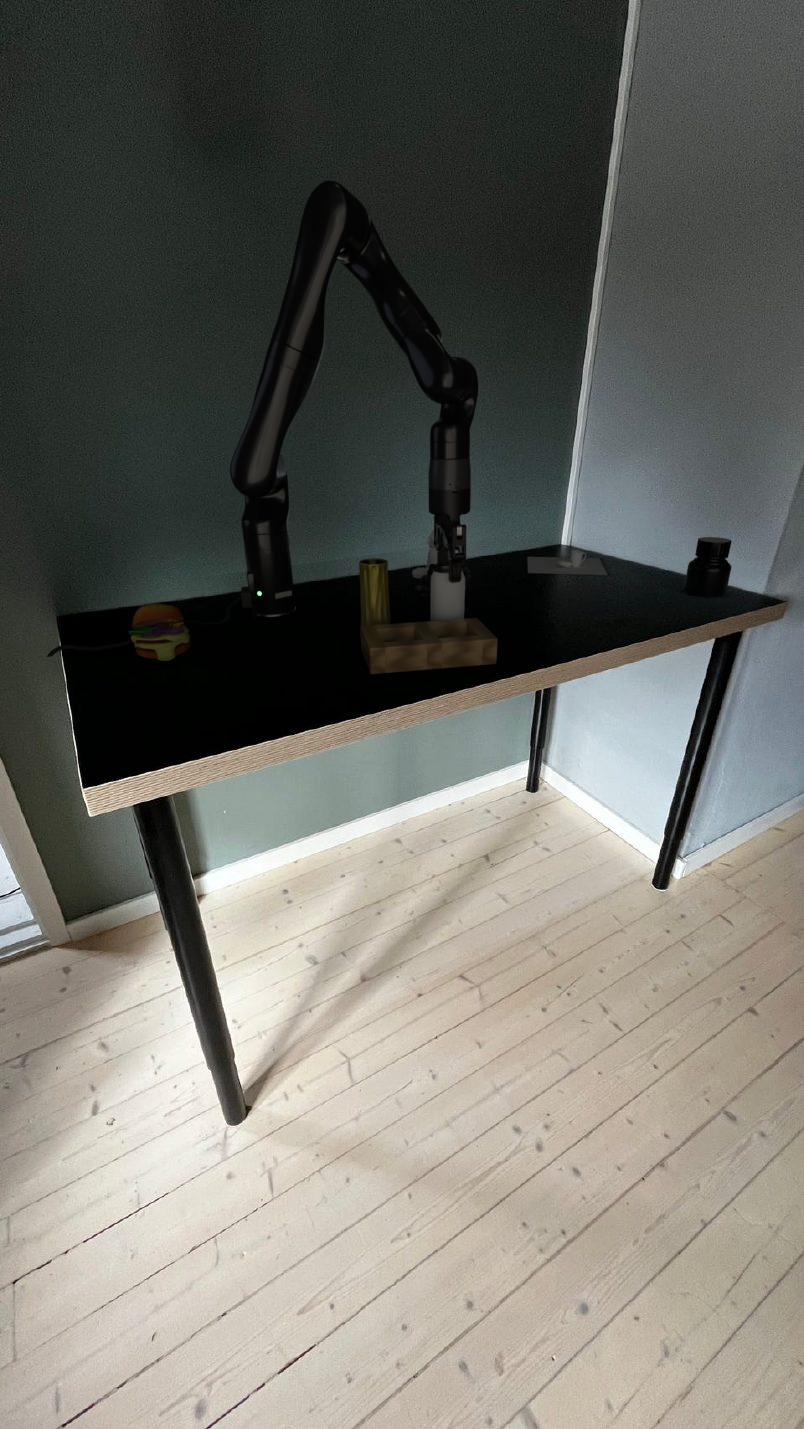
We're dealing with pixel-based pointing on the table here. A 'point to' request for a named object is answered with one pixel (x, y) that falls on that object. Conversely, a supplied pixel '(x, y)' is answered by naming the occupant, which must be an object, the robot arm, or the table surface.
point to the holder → (427, 645)
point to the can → (446, 596)
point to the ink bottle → (709, 568)
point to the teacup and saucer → (566, 565)
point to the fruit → (426, 580)
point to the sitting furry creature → (431, 558)
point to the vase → (374, 592)
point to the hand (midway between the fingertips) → (448, 576)
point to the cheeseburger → (159, 632)
